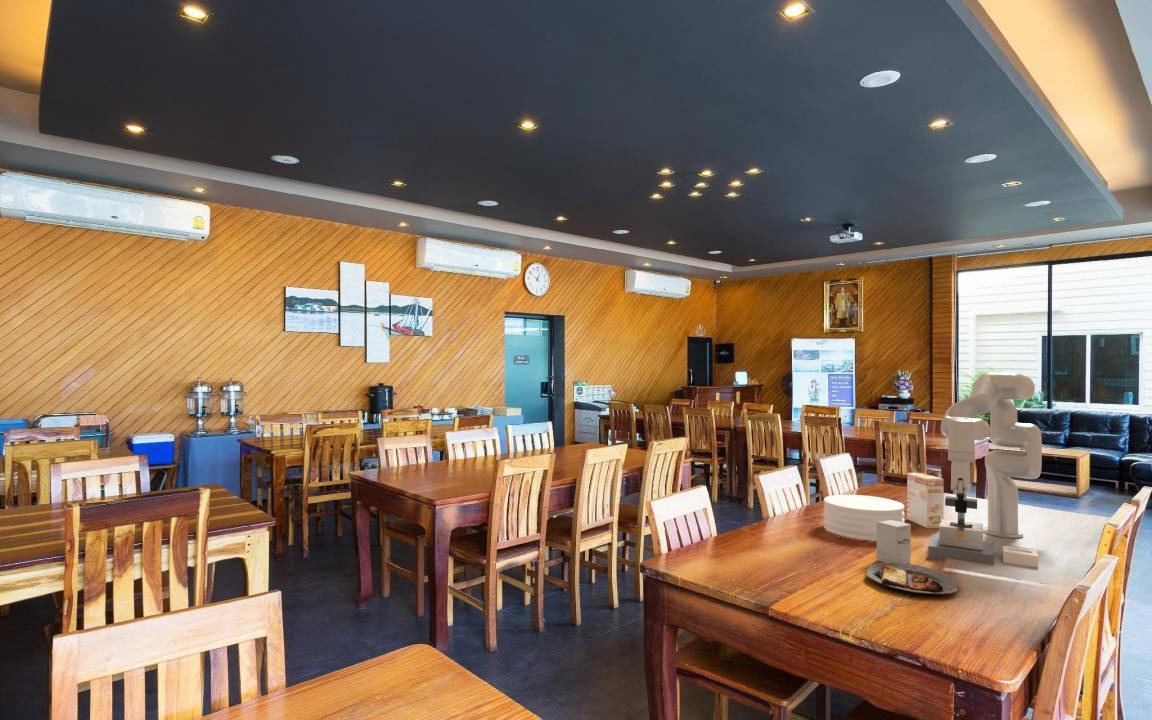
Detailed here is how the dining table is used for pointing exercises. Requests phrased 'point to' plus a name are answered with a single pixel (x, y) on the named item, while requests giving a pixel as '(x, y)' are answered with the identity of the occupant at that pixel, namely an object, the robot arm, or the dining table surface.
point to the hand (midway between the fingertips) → (961, 510)
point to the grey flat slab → (961, 552)
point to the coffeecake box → (925, 499)
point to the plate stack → (859, 515)
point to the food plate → (912, 578)
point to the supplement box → (893, 542)
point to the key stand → (1020, 556)
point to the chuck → (961, 535)
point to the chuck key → (961, 516)
